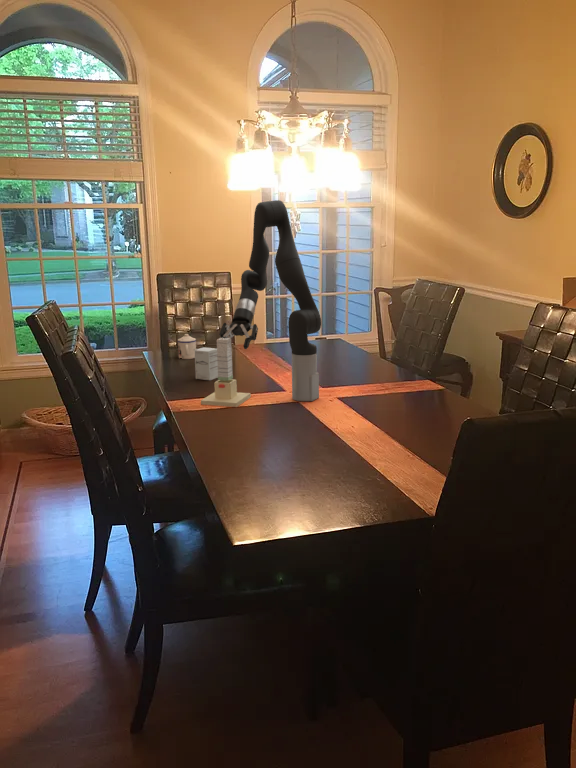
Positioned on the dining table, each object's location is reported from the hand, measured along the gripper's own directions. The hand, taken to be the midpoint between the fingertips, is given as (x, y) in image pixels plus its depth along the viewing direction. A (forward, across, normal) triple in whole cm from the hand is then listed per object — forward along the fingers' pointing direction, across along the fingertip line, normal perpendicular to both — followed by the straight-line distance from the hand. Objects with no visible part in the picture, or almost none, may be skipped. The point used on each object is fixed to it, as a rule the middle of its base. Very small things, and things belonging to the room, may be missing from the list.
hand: (234, 347), depth 246 cm
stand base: (+20, 0, +6) cm, 21 cm away
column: (+14, 0, 0) cm, 14 cm away
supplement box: (-2, -22, +28) cm, 36 cm away
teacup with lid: (-28, -48, +54) cm, 78 cm away
